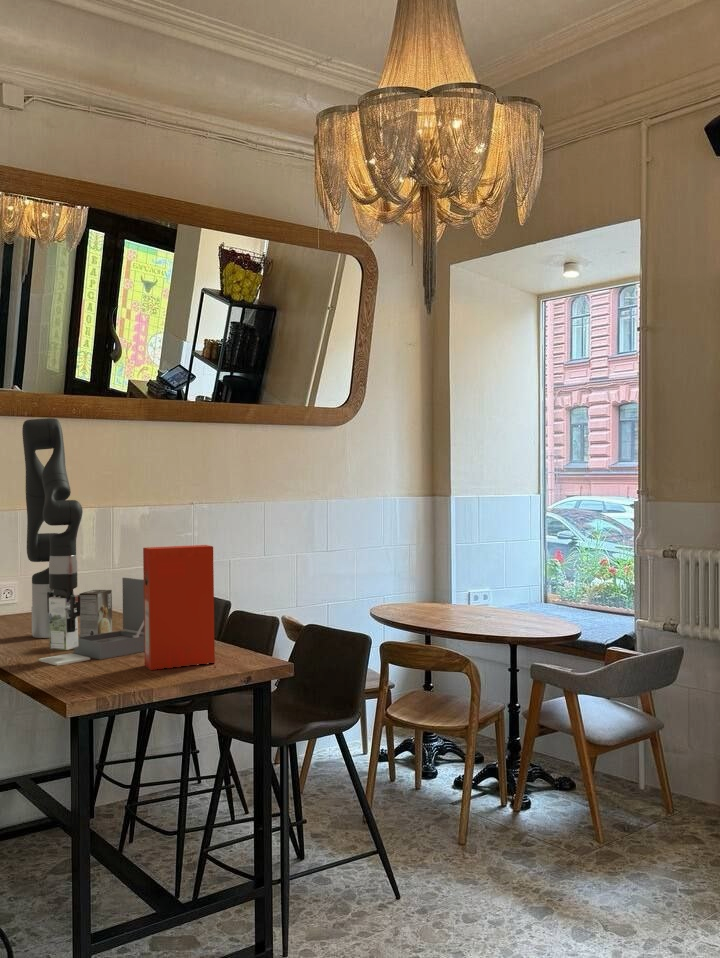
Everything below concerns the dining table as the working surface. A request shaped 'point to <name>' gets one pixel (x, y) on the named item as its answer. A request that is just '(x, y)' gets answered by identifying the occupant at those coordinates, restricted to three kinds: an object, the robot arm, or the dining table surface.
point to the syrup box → (61, 625)
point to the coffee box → (95, 612)
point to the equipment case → (121, 640)
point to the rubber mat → (64, 659)
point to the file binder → (178, 606)
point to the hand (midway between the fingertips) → (63, 630)
